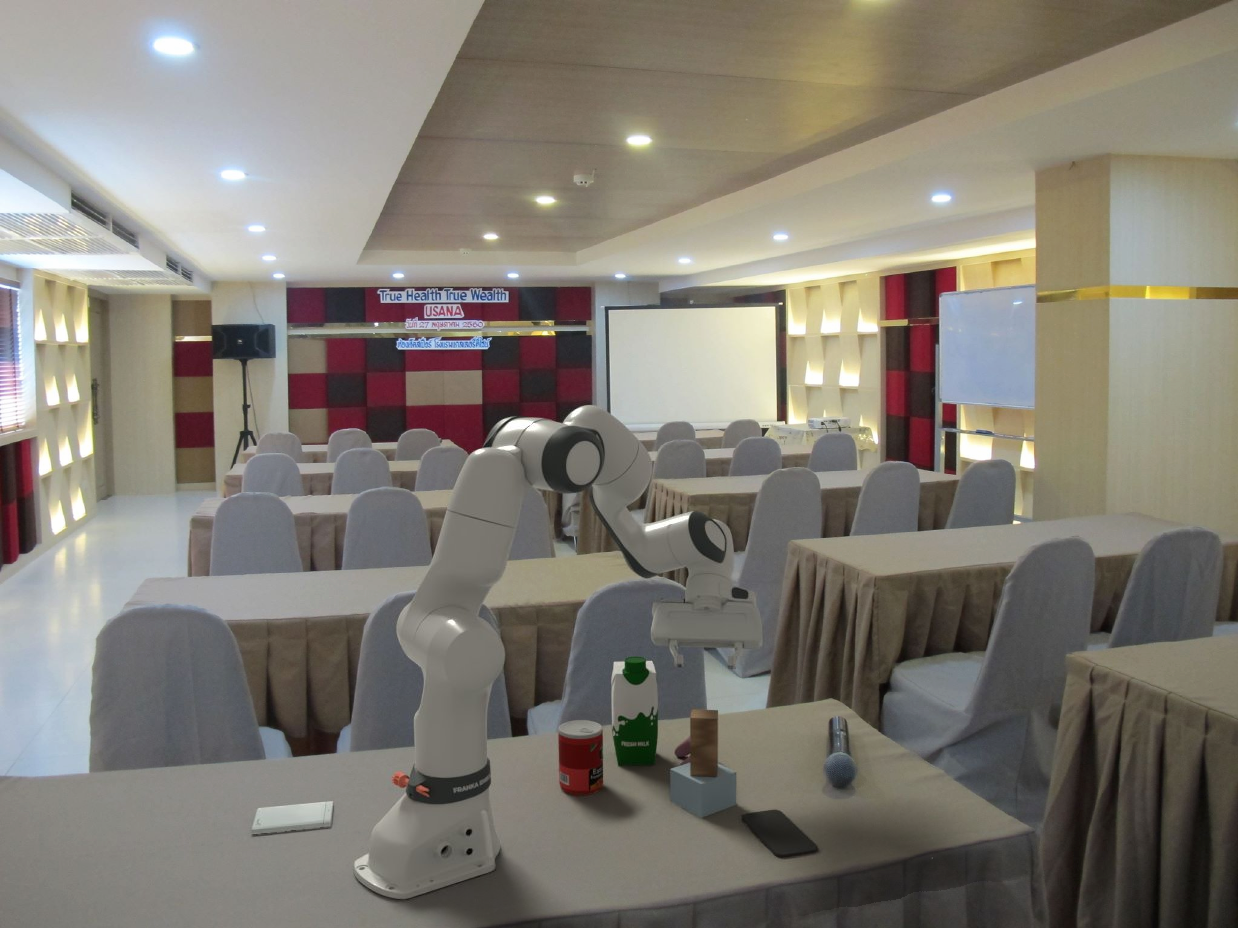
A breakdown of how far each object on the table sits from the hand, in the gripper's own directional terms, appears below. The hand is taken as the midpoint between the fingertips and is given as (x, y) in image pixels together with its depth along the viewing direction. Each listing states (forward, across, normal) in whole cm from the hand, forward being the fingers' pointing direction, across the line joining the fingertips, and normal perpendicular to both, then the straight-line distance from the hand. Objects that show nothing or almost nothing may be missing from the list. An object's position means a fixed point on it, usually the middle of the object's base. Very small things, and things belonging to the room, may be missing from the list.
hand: (704, 666), depth 180 cm
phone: (+28, +13, +3) cm, 31 cm away
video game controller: (+10, -3, +21) cm, 23 cm away
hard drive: (+32, -67, -1) cm, 74 cm away
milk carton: (+8, -14, +22) cm, 28 cm away
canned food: (+18, -22, +12) cm, 31 cm away
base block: (+21, 0, +10) cm, 23 cm away
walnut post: (+17, 0, +5) cm, 18 cm away
